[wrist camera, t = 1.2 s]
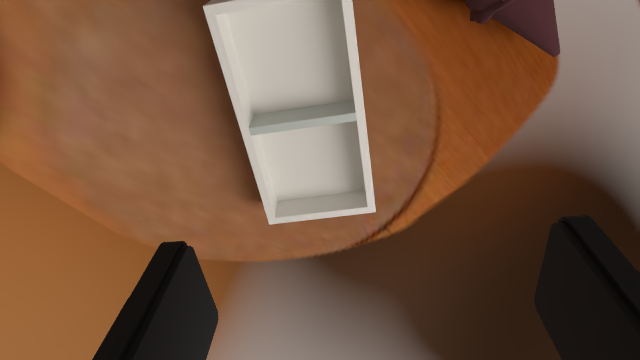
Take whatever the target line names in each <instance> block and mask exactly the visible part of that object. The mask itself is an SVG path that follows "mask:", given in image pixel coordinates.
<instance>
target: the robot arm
mask: <svg viewBox="0 0 640 360" xmlns="http://www.w3.org/2000/svg"><path fill="white" fill-rule="evenodd" d="M534 301H535V306H536V310H537V312H538V314H539V316H540V318H541V320H542V322H543V324H544V326H545V328H546V330H547V332H548V334H549V336H550V338H551V340H552V341H553V343H554V345H555V347H556V349H557V351H558V353H559V355H560V357H561V359H562V360H640V272H639V271H638V270H636V269H635V268H634V266H633V265H632V264H631V263H630V262H629V261H628V259H627V258H626V257H625V256H624V255H623V254H622V253H621V251H620V250H619V249H618V248H617V247H616V246H615V245H614V243H613V242H612V241H611V240H610V239H609V237H608V236H607V235H606V234H605V233H604V232H603V230H602V229H601V228H600V227H599V226H598V225H597V224H596V222H595V221H594V220H593V219H592V218H591V217H590V216H587V215H581V216H565V217H561V218H560V219H559V220H558V223H554V224H552V226H551V229H550V233H549V238H548V242H547V246H546V250H545V254H544V259H543V263H542V267H541V271H540V276H539V280H538V284H537V288H536V292H535V297H534ZM217 323H218V311H217V308H216V305H215V303H214V300H213V298H212V295H211V293H210V290H209V287H208V285H207V282H206V280H205V277H204V275H203V272H202V269H201V267H200V264H199V262H198V259H197V257H196V254H195V251H194V249H193V247H191V246H187V244H186V243H185V242H184V241H177V242H163V243H161V244H160V246H159V247H158V249H157V251H156V252H155V254H154V256H153V257H152V259H151V261H150V263H149V264H148V266H147V268H146V270H145V271H144V273H143V275H142V276H141V278H140V280H139V282H138V284H137V285H136V287H135V288H134V290H133V292H132V294H131V296H130V297H129V298H128V299H127V301H126V303H125V304H124V306H123V308H122V309H121V311H120V313H119V315H118V317H117V318H116V320H115V322H114V323H113V325H112V327H111V328H110V330H109V332H108V334H107V335H106V337H105V339H104V340H103V342H102V344H101V346H100V347H99V349H98V351H97V352H96V354H95V356H94V358H93V359H92V360H206V358H207V355H208V352H209V348H210V345H211V342H212V339H213V336H214V333H215V329H216V326H217Z"/></svg>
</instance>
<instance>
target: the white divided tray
mask: <svg viewBox="0 0 640 360" xmlns="http://www.w3.org/2000/svg"><path fill="white" fill-rule="evenodd" d="M203 9H204V12H205V16H206V19H207V22H208V25H209V29H210V32H211V35H212V38H213V42H214V45H215V48H216V52H217V55H218V58H219V61H220V65H221V68H222V71H223V74H224V78H225V81H226V84H227V88H228V91H229V94H230V97H231V101H232V104H233V107H234V110H235V114H236V117H237V120H238V123H239V127H240V130H241V133H242V137H243V140H244V143H245V146H246V150H247V153H248V156H249V159H250V163H251V166H252V169H253V172H254V176H255V179H256V182H257V186H258V189H259V192H260V195H261V199H262V202H263V205H264V208H265V212H266V215H267V218H268V222H269V224H278V223H286V222H295V221H303V220H312V219H321V218H329V217H338V216H346V215H355V214H364V213H372V212H376V208H375V199H374V190H373V182H372V173H371V164H370V155H369V146H368V137H367V128H366V119H365V110H364V101H363V92H362V84H361V75H360V66H359V57H358V48H357V39H356V30H355V21H354V12H353V3H352V0H211V1H209V2H208V3H207V4H205V5H204V6H203Z"/></svg>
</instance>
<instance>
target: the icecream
mask: <svg viewBox="0 0 640 360" xmlns="http://www.w3.org/2000/svg"><path fill="white" fill-rule="evenodd" d="M464 1H465V2H466V5H467V7H468V8H469V9H471V13H470V21H476V22H477V23H480V24H483V23H486V22H488V21H489V20H490V18H491V17H492V18H494V19H495V20H497V21H498V22H500V23H502V24H503V25H505V26H506V27H508V28H509V29H511V30H513V31H514V32H516V33H517V34H519V35H520V36H522V37H524V38H525V39H527V40H528V41H530V42H531V43H533V44H535V45H536V46H538V47H539V48H541V49H542V50H544V51H545V52H547V53H548V54H550V55H552V56H553V57H555V56H557V55H559V54H560V45H559V38H558V31H557V24H556V16H555V8H554V1H553V0H464Z"/></svg>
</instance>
